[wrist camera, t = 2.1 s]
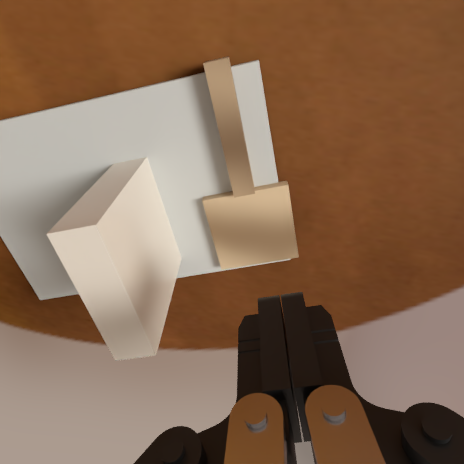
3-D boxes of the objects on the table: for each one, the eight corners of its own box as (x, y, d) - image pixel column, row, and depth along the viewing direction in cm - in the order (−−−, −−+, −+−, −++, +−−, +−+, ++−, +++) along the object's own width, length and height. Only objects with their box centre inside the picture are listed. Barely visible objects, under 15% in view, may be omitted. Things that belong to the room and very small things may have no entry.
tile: (112, 164, 20) (44, 234, 13) (146, 156, 20) (96, 224, 13) (151, 263, 23) (113, 361, 17) (181, 258, 23) (155, 355, 16)
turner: (168, 70, 18) (164, 72, 17) (267, 47, 17) (268, 47, 16) (221, 264, 23) (221, 273, 23) (297, 252, 23) (299, 260, 22)
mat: (-55, 132, 20) (-63, 135, 20) (258, 59, 18) (258, 60, 17) (44, 294, 26) (40, 300, 25) (289, 254, 24) (290, 259, 23)
